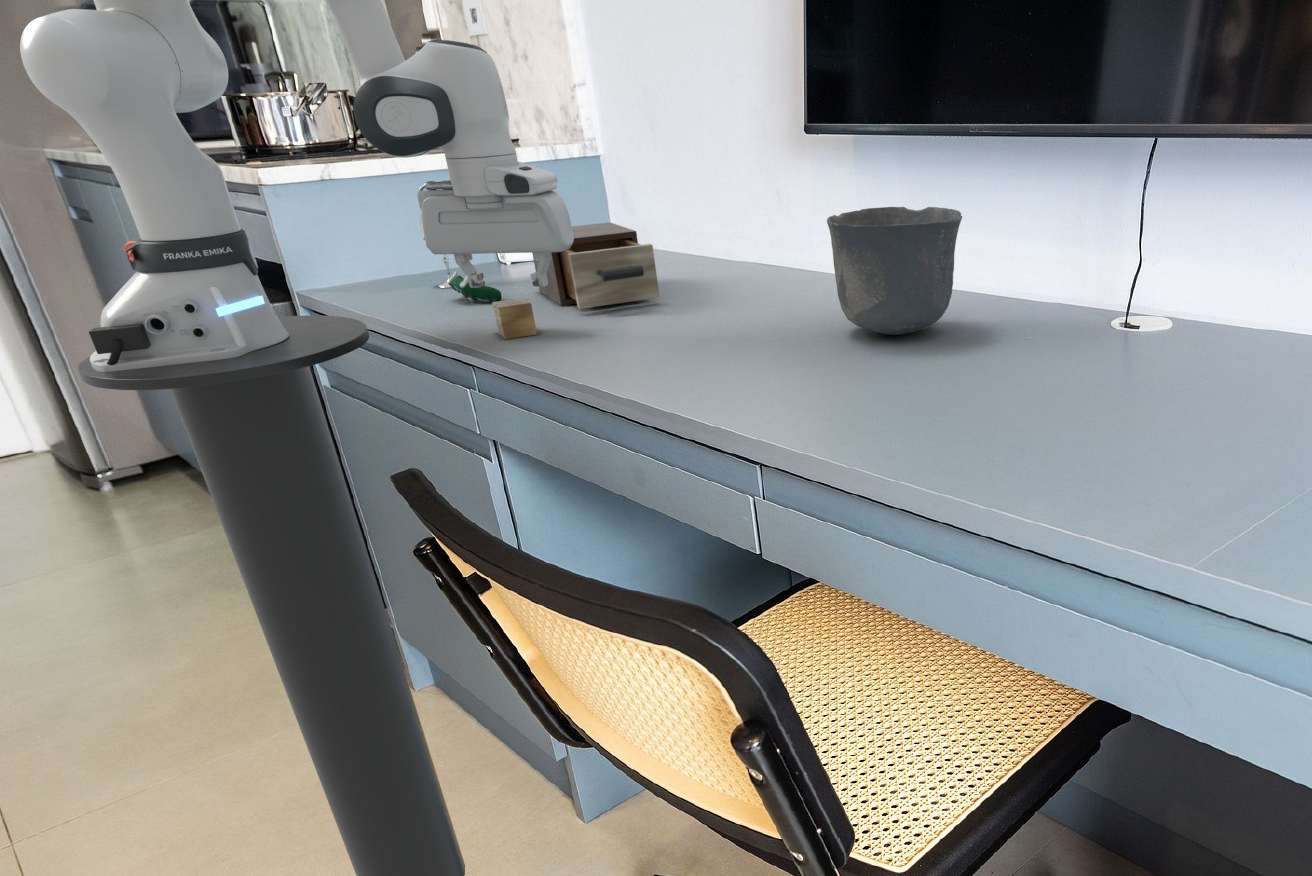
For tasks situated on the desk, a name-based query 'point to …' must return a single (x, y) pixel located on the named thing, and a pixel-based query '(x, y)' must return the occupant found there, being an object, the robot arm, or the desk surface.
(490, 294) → the green elongated toy
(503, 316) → the block
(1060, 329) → the desk surface
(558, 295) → the cabinet
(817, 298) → the desk surface
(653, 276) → the drawer
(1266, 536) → the desk surface
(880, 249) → the cup
